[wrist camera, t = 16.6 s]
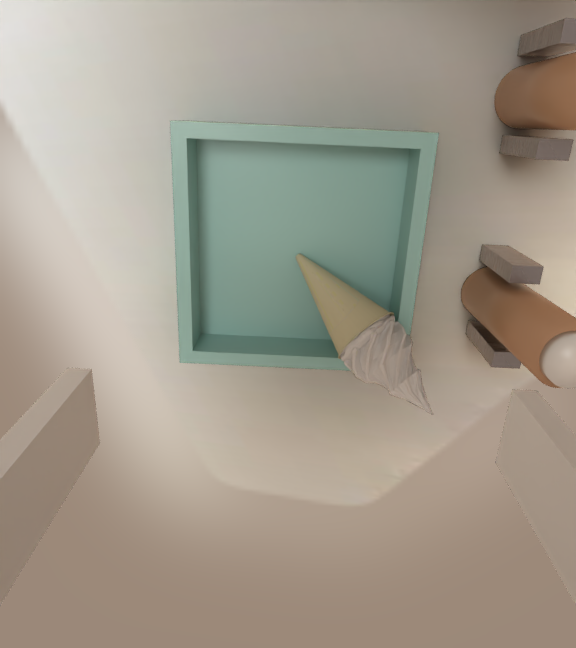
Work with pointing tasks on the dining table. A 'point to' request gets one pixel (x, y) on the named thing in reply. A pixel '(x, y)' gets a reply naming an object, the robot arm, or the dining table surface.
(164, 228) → the dining table surface
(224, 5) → the dining table surface
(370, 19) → the dining table surface
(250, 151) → the tray
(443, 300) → the dining table surface
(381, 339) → the ice cream cone
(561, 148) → the clip row
